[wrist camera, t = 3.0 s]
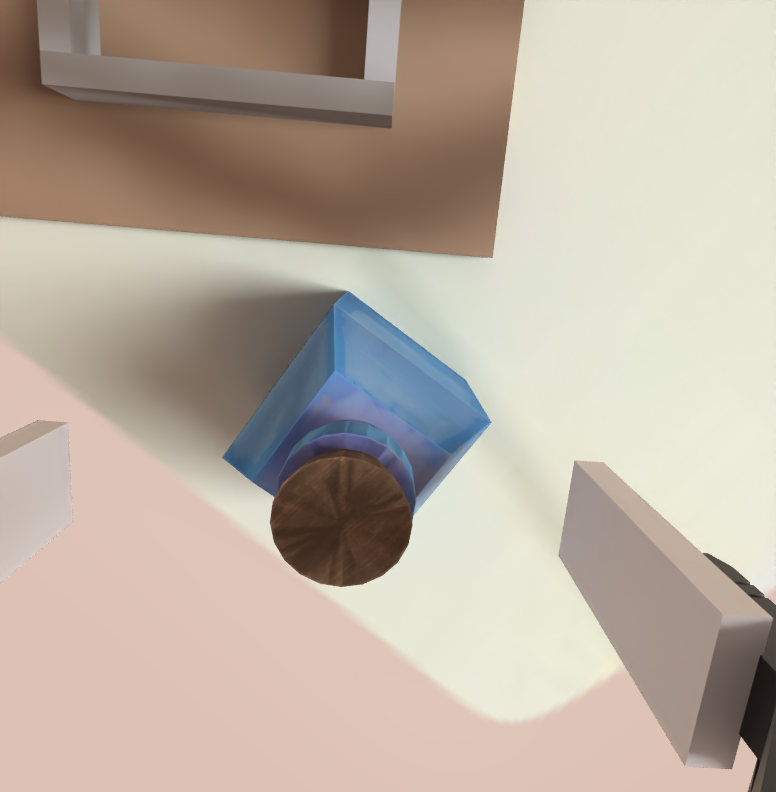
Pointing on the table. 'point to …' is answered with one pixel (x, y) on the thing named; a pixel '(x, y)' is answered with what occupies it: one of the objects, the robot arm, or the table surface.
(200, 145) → the pocket board
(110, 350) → the table surface
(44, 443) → the robot arm
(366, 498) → the perfume bottle
